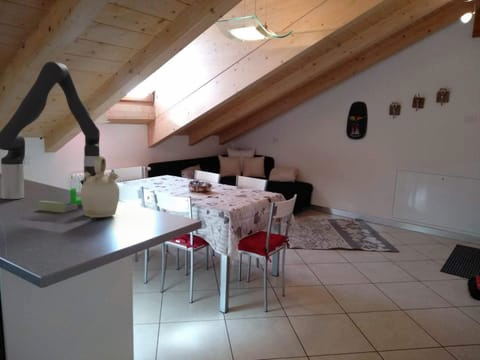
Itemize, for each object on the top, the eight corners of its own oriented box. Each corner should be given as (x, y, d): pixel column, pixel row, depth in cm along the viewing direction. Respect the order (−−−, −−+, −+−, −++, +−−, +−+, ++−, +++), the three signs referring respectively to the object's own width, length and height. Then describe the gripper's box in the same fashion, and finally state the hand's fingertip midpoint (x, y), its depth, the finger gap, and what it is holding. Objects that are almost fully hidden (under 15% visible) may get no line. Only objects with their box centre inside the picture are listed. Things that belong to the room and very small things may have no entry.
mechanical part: (84, 205, 168) (83, 188, 168) (70, 205, 166) (70, 189, 166) (86, 200, 180) (86, 185, 179) (73, 201, 178) (73, 185, 177)
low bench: (39, 210, 153) (38, 201, 152) (55, 206, 161) (55, 198, 161) (63, 212, 149) (63, 203, 149) (78, 209, 158) (78, 200, 157)
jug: (126, 212, 154) (126, 156, 151) (104, 219, 139) (103, 157, 136) (97, 209, 158) (96, 154, 155) (72, 216, 143) (71, 155, 140)
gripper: (75, 164, 172) (76, 199, 174) (98, 166, 169) (98, 201, 171) (86, 164, 179) (86, 197, 181) (108, 165, 176) (108, 199, 178)
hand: (92, 199), depth 176 cm, fingers closed
